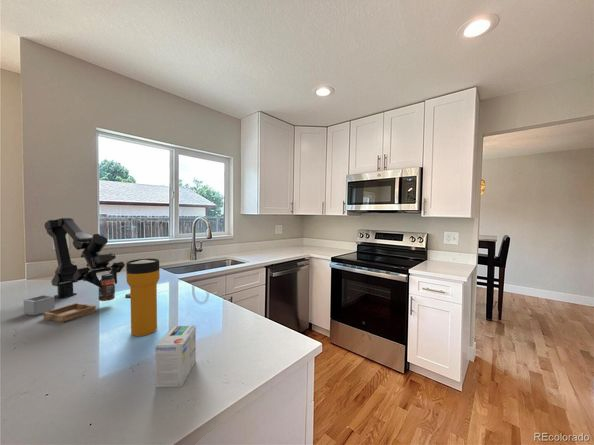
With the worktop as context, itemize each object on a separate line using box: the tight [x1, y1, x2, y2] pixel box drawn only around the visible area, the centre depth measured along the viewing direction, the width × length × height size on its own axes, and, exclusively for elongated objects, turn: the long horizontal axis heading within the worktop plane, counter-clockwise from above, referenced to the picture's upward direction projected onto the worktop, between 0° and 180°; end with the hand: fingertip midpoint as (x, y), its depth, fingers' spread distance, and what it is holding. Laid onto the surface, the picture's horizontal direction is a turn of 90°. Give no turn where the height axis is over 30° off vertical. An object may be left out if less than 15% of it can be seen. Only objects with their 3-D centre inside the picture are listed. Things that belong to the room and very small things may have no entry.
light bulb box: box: [154, 325, 197, 388], centre depth 66 cm, size 11×7×11 cm, turn 5°
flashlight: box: [125, 258, 160, 337], centre depth 89 cm, size 10×26×10 cm
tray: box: [43, 302, 96, 324], centre depth 102 cm, size 12×12×2 cm
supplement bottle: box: [98, 273, 116, 302], centre depth 112 cm, size 6×6×11 cm
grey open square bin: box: [23, 294, 56, 316], centre depth 105 cm, size 7×7×6 cm
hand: (108, 285), depth 112 cm, fingers closed on supplement bottle, 6 cm apart
